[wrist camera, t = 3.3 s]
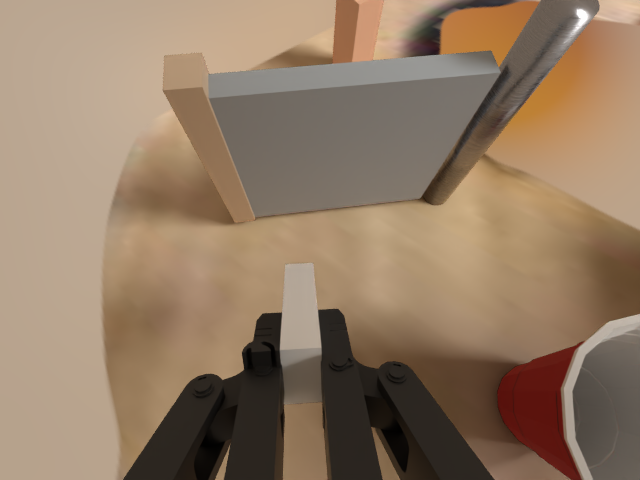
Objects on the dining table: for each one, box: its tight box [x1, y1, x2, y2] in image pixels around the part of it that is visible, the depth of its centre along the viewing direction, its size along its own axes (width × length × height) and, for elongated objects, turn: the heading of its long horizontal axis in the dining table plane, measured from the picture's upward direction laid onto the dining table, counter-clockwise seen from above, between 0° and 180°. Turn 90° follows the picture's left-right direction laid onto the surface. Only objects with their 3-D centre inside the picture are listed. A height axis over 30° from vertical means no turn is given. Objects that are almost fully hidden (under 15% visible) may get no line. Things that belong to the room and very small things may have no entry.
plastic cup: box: [497, 314, 640, 480], centre depth 20 cm, size 11×11×12 cm
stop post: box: [332, 0, 384, 64], centre depth 33 cm, size 3×3×9 cm
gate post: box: [423, 0, 599, 205], centre depth 23 cm, size 2×2×18 cm
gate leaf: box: [163, 51, 501, 223], centre depth 23 cm, size 17×2×15 cm, turn 98°
